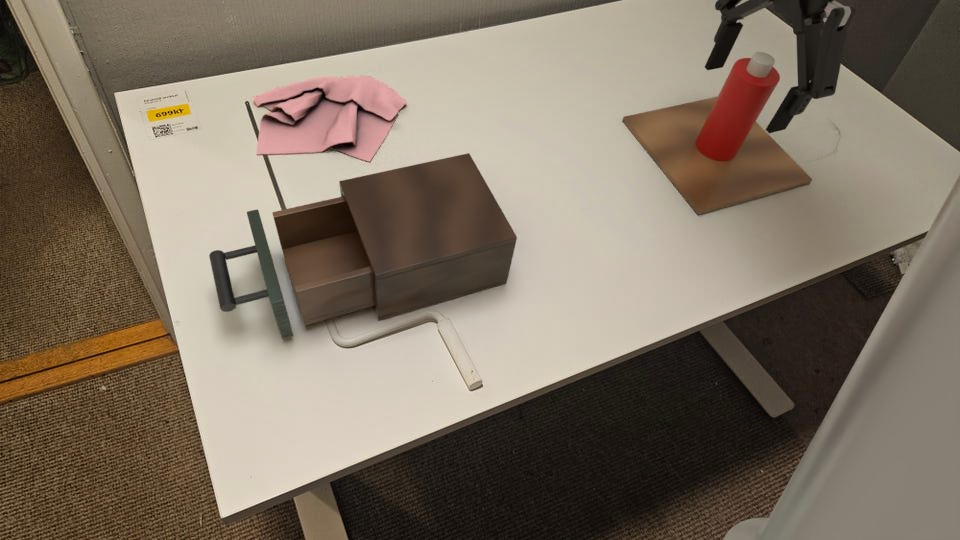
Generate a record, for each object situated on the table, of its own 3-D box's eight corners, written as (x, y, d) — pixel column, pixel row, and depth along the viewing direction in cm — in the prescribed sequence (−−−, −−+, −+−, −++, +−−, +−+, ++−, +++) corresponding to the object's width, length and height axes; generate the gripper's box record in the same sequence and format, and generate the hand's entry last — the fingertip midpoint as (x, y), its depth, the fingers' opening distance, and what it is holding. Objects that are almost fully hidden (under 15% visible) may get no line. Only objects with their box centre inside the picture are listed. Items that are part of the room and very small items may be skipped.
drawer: (234, 353, 62) (218, 318, 57) (215, 261, 69) (198, 221, 63) (414, 301, 68) (414, 265, 63) (380, 221, 74) (378, 182, 69)
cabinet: (378, 321, 67) (375, 275, 60) (345, 231, 74) (339, 180, 67) (506, 283, 72) (517, 237, 65) (463, 202, 79) (469, 152, 72)
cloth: (424, 99, 90) (424, 85, 88) (343, 192, 78) (342, 178, 76) (307, 54, 94) (305, 40, 92) (212, 136, 81) (207, 121, 80)
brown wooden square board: (809, 183, 88) (812, 179, 87) (697, 215, 82) (700, 211, 81) (727, 98, 98) (729, 93, 97) (622, 120, 92) (623, 116, 91)
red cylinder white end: (744, 156, 89) (797, 68, 77) (711, 165, 87) (760, 76, 75) (720, 130, 92) (767, 41, 80) (687, 137, 90) (731, 48, 78)
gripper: (733, -115, 70) (669, 48, 87) (892, 0, 57) (781, 165, 74) (782, -119, 73) (711, 40, 90) (947, -9, 60) (827, 152, 77)
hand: (743, 97), depth 82 cm, fingers open, 13 cm apart
